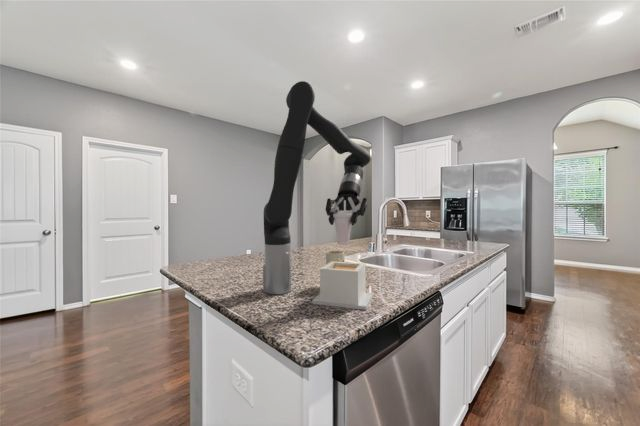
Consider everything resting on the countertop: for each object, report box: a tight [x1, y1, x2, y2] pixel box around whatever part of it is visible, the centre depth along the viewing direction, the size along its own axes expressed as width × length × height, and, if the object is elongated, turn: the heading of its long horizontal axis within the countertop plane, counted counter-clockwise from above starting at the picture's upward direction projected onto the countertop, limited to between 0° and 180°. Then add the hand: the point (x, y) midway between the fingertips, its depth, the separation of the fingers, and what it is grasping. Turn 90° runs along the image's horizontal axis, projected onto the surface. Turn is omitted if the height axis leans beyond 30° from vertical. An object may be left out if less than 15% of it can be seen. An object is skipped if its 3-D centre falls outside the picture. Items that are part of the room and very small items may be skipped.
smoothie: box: [333, 200, 352, 246], centre depth 88 cm, size 6×6×14 cm
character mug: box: [325, 250, 345, 265], centre depth 104 cm, size 11×7×13 cm, turn 13°
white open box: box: [311, 261, 374, 311], centre depth 89 cm, size 17×13×11 cm
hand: (341, 223), depth 87 cm, fingers closed on smoothie, 6 cm apart
